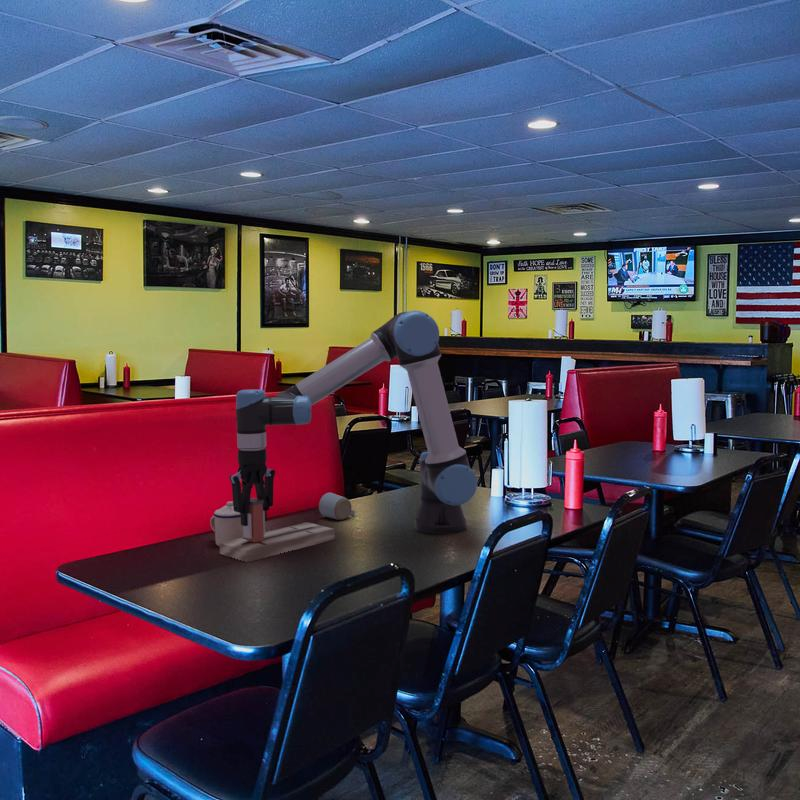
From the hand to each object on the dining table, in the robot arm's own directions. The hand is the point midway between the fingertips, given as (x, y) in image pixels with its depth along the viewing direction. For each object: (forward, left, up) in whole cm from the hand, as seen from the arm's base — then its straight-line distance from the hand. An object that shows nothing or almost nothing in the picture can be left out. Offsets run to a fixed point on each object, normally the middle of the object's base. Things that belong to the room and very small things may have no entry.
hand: (254, 535), depth 218 cm
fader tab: (0, 0, -1) cm, 1 cm away
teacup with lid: (+14, -1, -5) cm, 15 cm away
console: (0, -8, -5) cm, 9 cm away
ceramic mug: (+13, -41, -5) cm, 44 cm away
